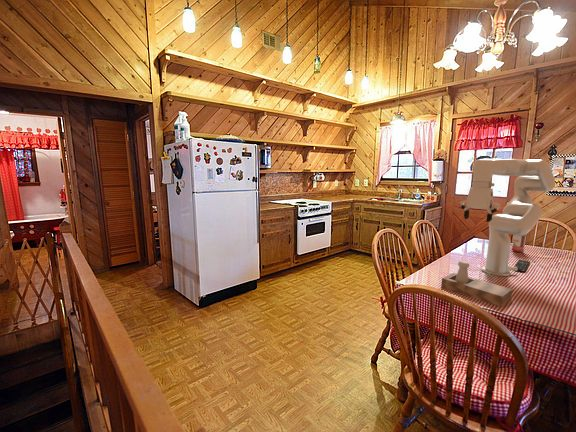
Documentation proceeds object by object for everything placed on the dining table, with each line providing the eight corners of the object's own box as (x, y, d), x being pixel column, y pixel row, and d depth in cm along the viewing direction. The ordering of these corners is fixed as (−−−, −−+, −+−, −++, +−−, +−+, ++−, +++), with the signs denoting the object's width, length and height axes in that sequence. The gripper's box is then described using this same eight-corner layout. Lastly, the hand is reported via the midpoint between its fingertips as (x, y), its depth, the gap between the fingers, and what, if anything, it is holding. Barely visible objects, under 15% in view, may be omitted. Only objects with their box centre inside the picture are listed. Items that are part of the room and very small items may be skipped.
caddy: (511, 299, 125) (512, 289, 124) (501, 306, 118) (502, 296, 117) (452, 281, 144) (453, 272, 143) (441, 287, 137) (442, 278, 136)
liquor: (527, 253, 191) (533, 211, 186) (516, 253, 191) (522, 211, 186) (518, 250, 198) (524, 209, 193) (507, 250, 198) (513, 209, 193)
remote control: (529, 263, 172) (530, 261, 172) (524, 274, 155) (525, 271, 155) (518, 261, 176) (519, 259, 176) (512, 271, 159) (512, 269, 159)
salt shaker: (451, 286, 138) (453, 259, 136) (462, 285, 139) (465, 259, 136) (459, 291, 132) (462, 264, 130) (471, 290, 133) (474, 263, 131)
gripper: (505, 186, 135) (500, 222, 138) (465, 184, 148) (461, 216, 151) (499, 186, 130) (494, 223, 133) (458, 184, 144) (455, 218, 147)
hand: (477, 220), depth 142 cm, fingers open, 9 cm apart
